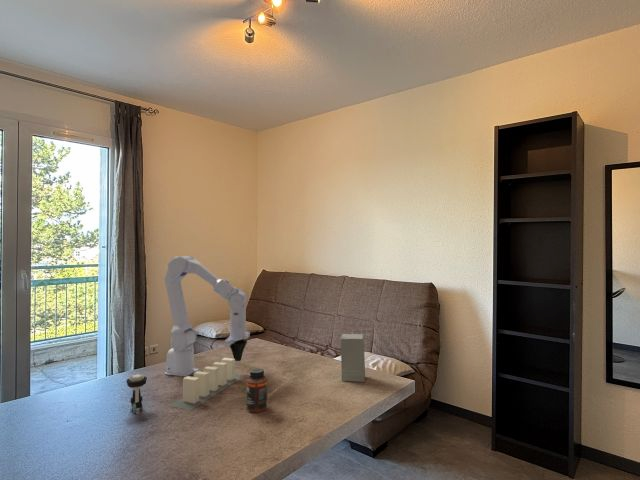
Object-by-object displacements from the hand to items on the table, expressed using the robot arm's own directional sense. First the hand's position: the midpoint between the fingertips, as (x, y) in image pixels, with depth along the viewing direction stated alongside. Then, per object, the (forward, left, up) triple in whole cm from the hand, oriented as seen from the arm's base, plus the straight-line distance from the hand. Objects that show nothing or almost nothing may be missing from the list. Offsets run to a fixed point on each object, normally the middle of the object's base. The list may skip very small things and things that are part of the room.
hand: (237, 360), depth 136 cm
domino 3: (0, -16, -5) cm, 17 cm away
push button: (-11, -36, -5) cm, 38 cm away
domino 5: (0, -6, -5) cm, 8 cm away
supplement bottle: (+21, -23, -5) cm, 32 cm away
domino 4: (0, -11, -5) cm, 12 cm away
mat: (0, -16, -5) cm, 17 cm away
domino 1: (0, -26, -5) cm, 27 cm away
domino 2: (0, -21, -5) cm, 22 cm away
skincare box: (+42, +10, -5) cm, 43 cm away
